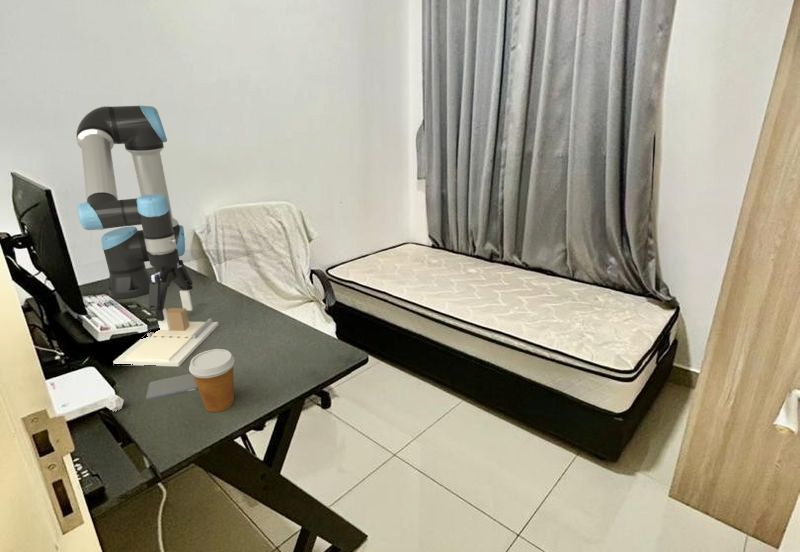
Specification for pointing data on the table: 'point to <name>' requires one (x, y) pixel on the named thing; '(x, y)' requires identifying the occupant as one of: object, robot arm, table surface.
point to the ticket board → (165, 348)
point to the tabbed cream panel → (178, 324)
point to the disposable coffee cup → (214, 378)
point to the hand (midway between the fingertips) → (177, 319)
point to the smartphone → (171, 386)
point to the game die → (115, 403)
